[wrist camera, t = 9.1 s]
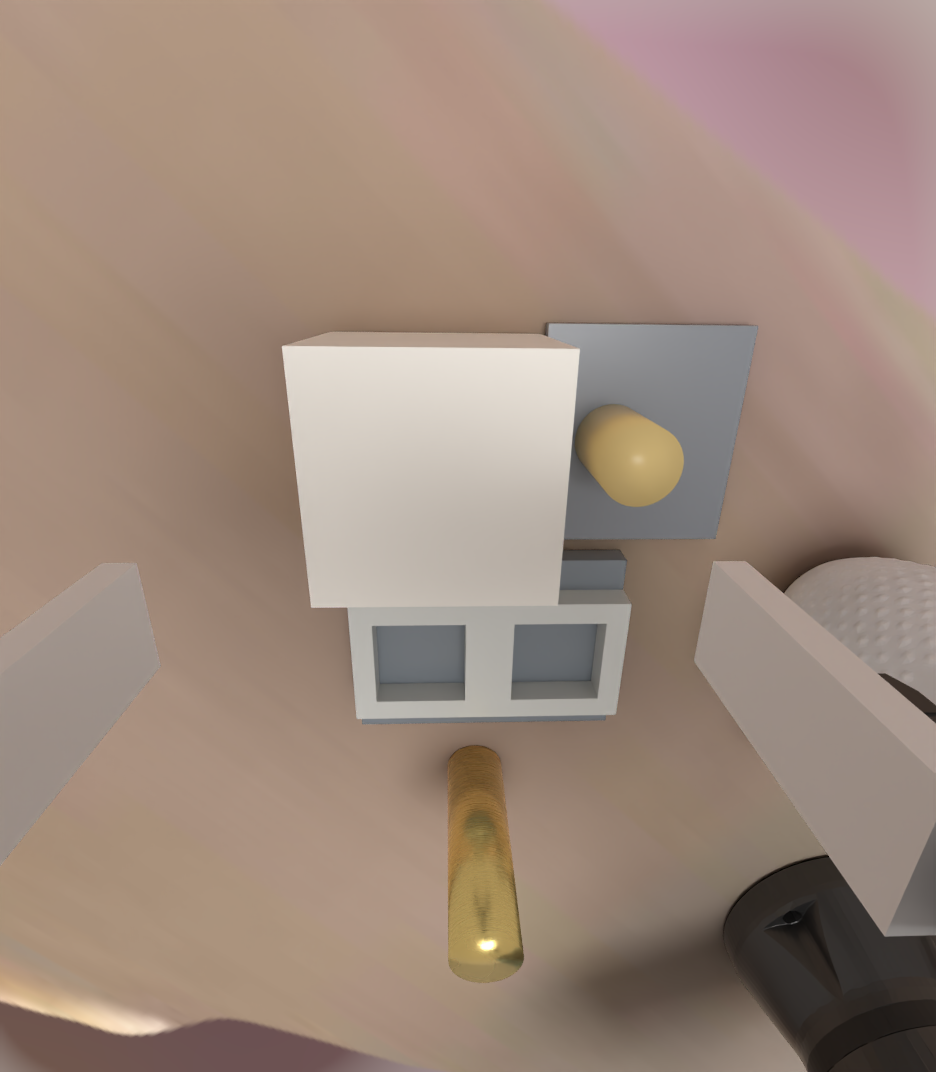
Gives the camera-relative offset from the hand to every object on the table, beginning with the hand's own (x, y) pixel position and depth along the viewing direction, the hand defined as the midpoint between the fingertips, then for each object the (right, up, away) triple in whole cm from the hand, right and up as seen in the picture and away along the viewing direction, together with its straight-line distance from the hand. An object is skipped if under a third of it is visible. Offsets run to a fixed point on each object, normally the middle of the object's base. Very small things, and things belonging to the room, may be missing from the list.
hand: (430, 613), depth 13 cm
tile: (+10, +7, +16) cm, 20 cm away
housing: (-1, +7, +16) cm, 17 cm away
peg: (+1, -14, +25) cm, 28 cm away
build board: (+2, -4, +21) cm, 21 cm away
